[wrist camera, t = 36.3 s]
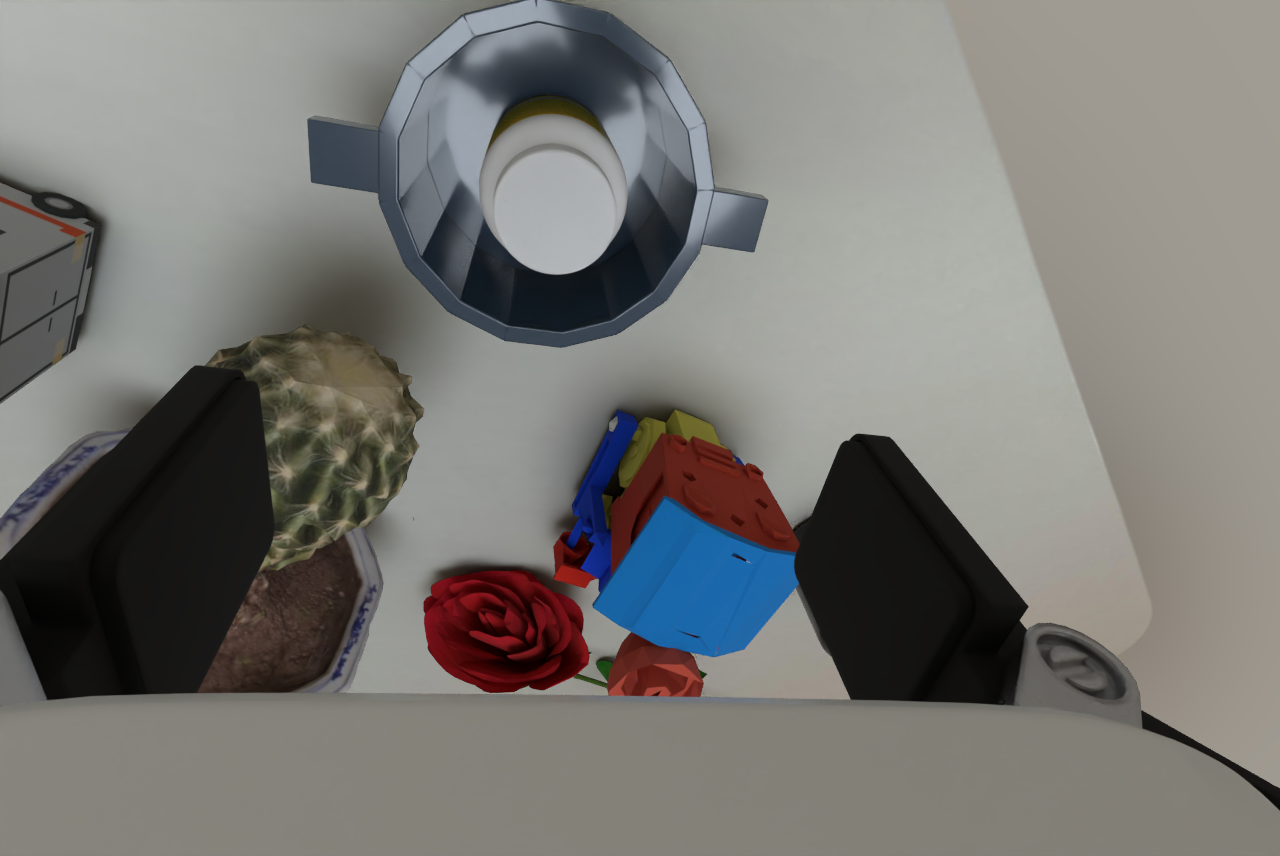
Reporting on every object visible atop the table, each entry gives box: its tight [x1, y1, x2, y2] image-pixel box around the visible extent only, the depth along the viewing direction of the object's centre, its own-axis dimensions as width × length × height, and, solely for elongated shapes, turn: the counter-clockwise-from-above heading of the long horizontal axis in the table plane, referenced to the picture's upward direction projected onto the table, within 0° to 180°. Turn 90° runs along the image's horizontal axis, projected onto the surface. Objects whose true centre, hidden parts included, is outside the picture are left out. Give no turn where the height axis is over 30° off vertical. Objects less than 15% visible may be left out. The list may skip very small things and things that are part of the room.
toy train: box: [553, 410, 800, 697], centre depth 41 cm, size 10×16×15 cm, turn 152°
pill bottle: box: [479, 94, 628, 275], centre depth 30 cm, size 6×6×11 cm
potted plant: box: [0, 324, 424, 693], centre depth 34 cm, size 18×18×30 cm
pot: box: [307, 0, 768, 348], centre depth 31 cm, size 14×19×8 cm
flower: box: [424, 570, 707, 693], centre depth 51 cm, size 9×10×30 cm
